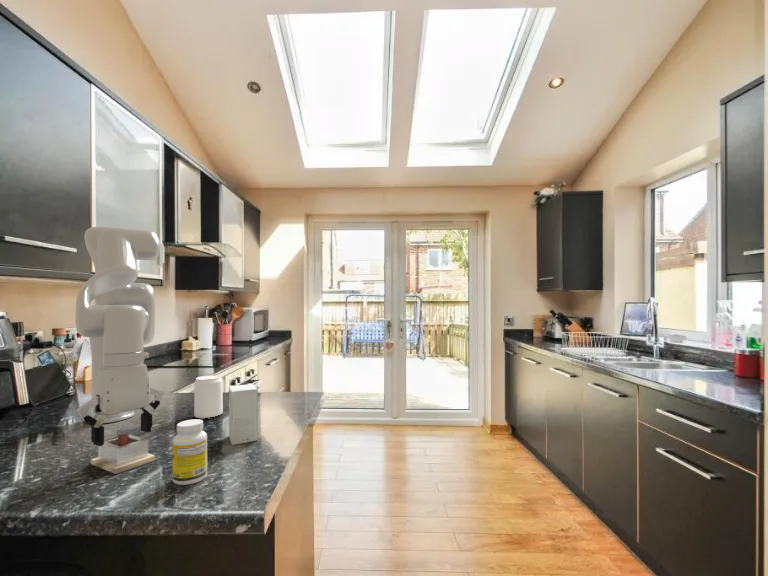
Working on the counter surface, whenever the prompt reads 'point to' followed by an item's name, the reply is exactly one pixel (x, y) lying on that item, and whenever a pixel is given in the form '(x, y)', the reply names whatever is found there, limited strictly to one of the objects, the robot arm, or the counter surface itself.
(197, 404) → the beverage can
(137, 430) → the grey plaster slab
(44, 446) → the counter surface
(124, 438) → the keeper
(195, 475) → the pill bottle
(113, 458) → the white hollow block
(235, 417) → the small box
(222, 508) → the counter surface
